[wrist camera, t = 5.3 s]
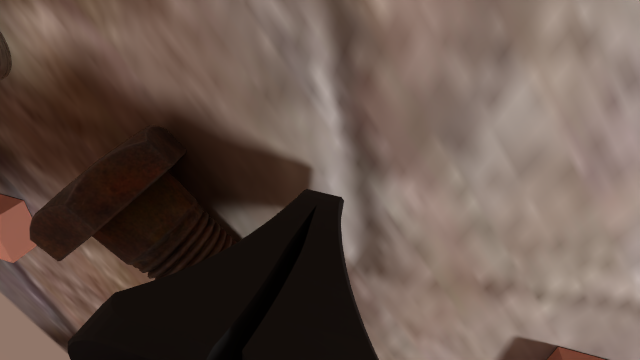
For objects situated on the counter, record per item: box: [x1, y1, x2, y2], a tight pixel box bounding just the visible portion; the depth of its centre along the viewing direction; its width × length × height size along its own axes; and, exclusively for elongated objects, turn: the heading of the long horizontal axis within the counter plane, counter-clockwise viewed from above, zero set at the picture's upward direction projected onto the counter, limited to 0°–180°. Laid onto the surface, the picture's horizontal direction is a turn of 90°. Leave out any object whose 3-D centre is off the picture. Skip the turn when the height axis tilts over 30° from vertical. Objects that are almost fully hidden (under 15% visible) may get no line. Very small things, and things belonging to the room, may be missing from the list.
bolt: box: [29, 126, 237, 280], centre depth 15 cm, size 6×5×15 cm
